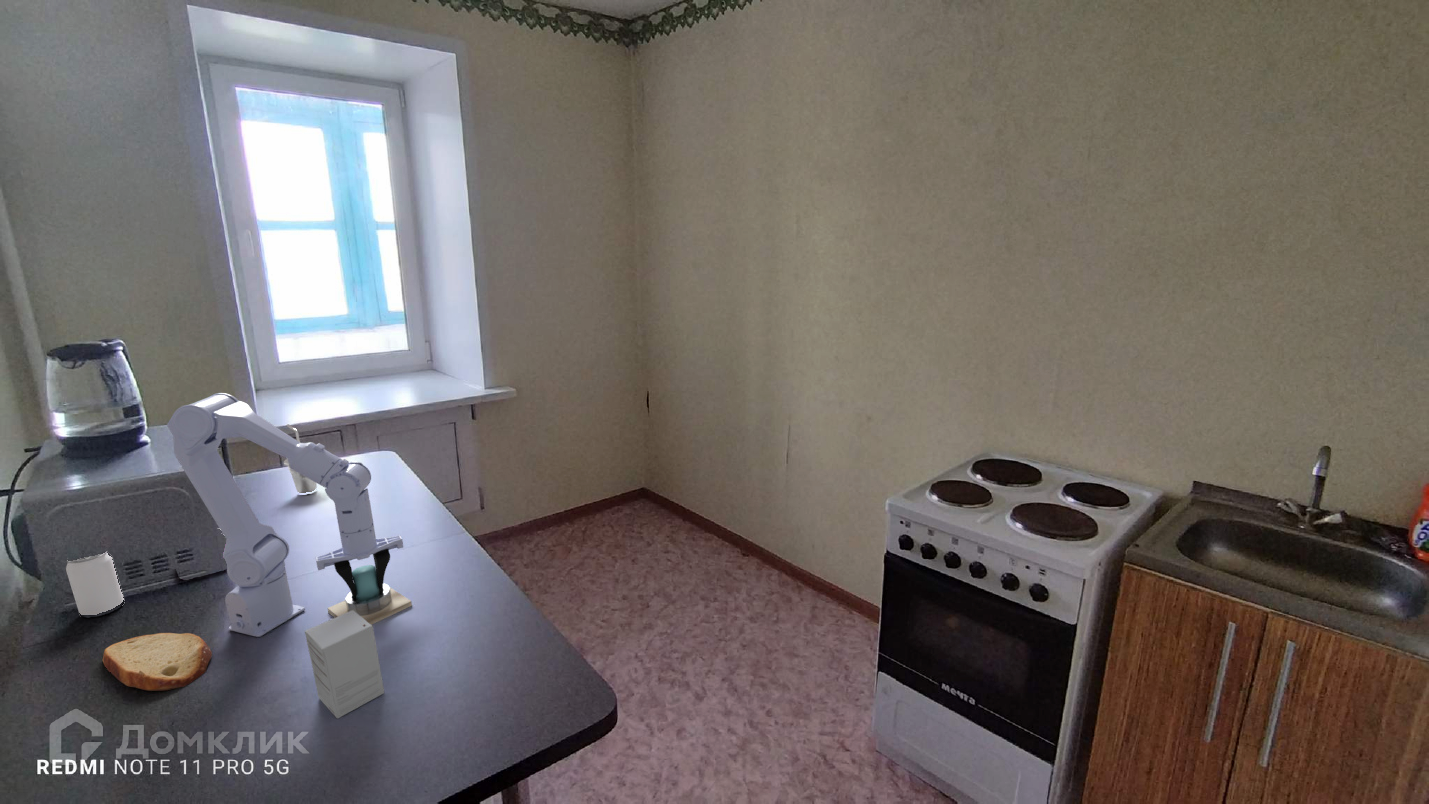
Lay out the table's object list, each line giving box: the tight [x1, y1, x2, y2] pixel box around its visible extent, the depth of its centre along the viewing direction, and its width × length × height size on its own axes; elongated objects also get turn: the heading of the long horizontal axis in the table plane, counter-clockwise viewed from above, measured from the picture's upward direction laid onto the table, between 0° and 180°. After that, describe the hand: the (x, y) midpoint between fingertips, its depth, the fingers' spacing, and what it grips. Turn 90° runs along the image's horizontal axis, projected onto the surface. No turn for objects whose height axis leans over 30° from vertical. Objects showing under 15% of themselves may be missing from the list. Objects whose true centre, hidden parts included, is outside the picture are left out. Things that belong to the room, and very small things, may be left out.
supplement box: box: [304, 610, 385, 719], centre depth 97 cm, size 7×7×13 cm
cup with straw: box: [283, 423, 318, 493], centre depth 177 cm, size 8×9×20 cm
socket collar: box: [344, 583, 392, 616], centre depth 122 cm, size 8×8×2 cm
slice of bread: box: [102, 632, 213, 692], centre depth 106 cm, size 18×18×4 cm
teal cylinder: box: [352, 564, 380, 602], centre depth 121 cm, size 4×4×6 cm
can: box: [65, 550, 125, 615], centre depth 121 cm, size 6×6×12 cm
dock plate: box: [327, 586, 413, 626], centre depth 122 cm, size 11×11×1 cm
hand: (367, 590), depth 121 cm, fingers closed on teal cylinder, 4 cm apart
